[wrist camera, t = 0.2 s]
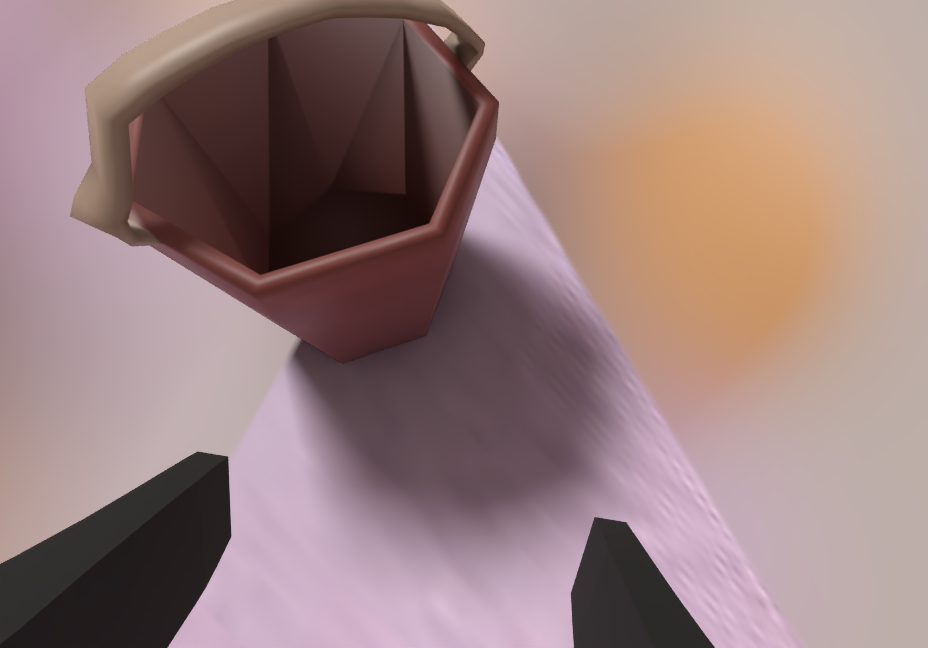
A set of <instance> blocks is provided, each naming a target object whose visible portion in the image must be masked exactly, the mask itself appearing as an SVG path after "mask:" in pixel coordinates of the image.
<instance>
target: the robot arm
mask: <svg viewBox="0 0 928 648" xmlns="http://www.w3.org/2000/svg"><path fill="white" fill-rule="evenodd" d="M230 538H231V517H230V492H229V466H228V457H227V456H221V455H214V454H209V453H203V452H196V453H194V454H193V455H191V456H189V457H187V458H185V459H184V460H182V461H180V462H179V463H177V464H175V465H174V466H172V467H170V468H169V469H167V470H165V471H164V472H162V473H160V474H159V475H157V476H155V477H154V478H152V479H150V480H149V481H147V482H145V483H144V484H142V485H140V486H139V487H137V488H135V489H134V490H132V491H130V492H129V493H127V494H125V495H124V496H122V497H120V498H119V499H117V500H115V501H114V502H112V503H110V504H108V505H107V506H105V507H103V508H102V509H100V510H98V511H97V512H95V513H93V514H91V515H90V516H88V517H86V518H85V519H83V520H81V521H79V522H77V523H76V524H74V525H72V526H70V527H68V528H66V529H65V530H63V531H61V532H59V533H57V534H55V535H54V536H52V537H50V538H48V539H46V540H44V541H42V542H41V543H39V544H37V545H35V546H33V547H32V548H30V549H28V550H26V551H24V552H22V553H21V554H19V555H17V556H15V557H13V558H11V559H9V560H7V561H5V562H3V563H1V564H0V648H167V647H168V646H169V644H170V643H171V641H172V640H173V638H174V637H175V635H176V634H177V632H178V630H179V629H180V627H181V626H182V624H183V623H184V621H185V620H186V618H187V616H188V615H189V613H190V612H191V610H192V609H193V607H194V606H195V604H196V602H197V601H198V599H199V598H200V596H201V595H202V593H203V591H204V590H205V588H206V586H207V584H208V582H209V581H210V579H211V577H212V575H213V573H214V571H215V569H216V567H217V565H218V563H219V561H220V559H221V557H222V555H223V553H224V551H225V548H226V546H227V544H228V542H229V540H230ZM571 603H572V624H573V639H574V648H715V647H714V646H713V645H712V643H711V642H710V641H709V639H708V638H707V637H706V635H705V634H704V633H703V631H702V630H701V629H700V627H699V626H698V624H697V623H696V622H695V620H694V619H693V618H692V616H691V615H690V613H689V612H688V611H687V609H686V608H685V607H684V605H683V604H682V603H681V601H680V600H679V598H678V597H677V595H676V594H675V593H674V591H673V590H672V588H671V587H670V586H669V584H668V583H667V581H666V580H665V578H664V577H663V575H662V574H661V573H660V571H659V570H658V568H657V567H656V565H655V564H654V562H653V561H652V559H651V558H650V556H649V555H648V553H647V552H646V551H645V549H644V548H643V546H642V545H641V543H640V542H639V540H638V539H637V537H636V536H635V534H634V533H633V532H632V530H631V529H630V527H629V526H628V524H627V523H626V522H621V521H615V520H609V519H603V518H597V517H595V518H594V521H593V524H592V528H591V531H590V534H589V537H588V540H587V544H586V547H585V550H584V553H583V556H582V560H581V563H580V566H579V569H578V572H577V576H576V579H575V582H574V585H573V588H572V592H571Z"/></svg>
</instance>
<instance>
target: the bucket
mask: <svg viewBox="0 0 928 648" xmlns="http://www.w3.org/2000/svg"><path fill="white" fill-rule="evenodd" d="M427 24H432V25H437V26H441V27H446V28H447V29H449V30H450V31H452V33H451V34H450V35H449V36H448V38H447V39H446V40H445V41H444V42H443V41H442V40H441V39H440V38H439V36H438V35H437V34H436V33H435V32H434V31H433V30H432V29H431V28H430V27H429V26H428V25H427ZM484 46H485V43H484V41H483V40H482V39H481V38H480V37H479V36H478V35H477V34H476V33H475V32H474V31H473V30H472V29H471V28H470V27H469V26H468V25H467V24H466V23H465V22H464V21H463V20H462V19H461V18H460V17H459V16H458V15H457V14H456V13H455V12H454V11H453V10H452V9H451V8H450V7H448V6H447V5H446V4H445V3H443V2H442V1H441V0H234V1H230V2H228V3H224V4H221V5H218V6H215V7H212V8H210V9H208V10H206V11H204V12H202V13H200V14H198V15H196V16H194V17H192V18H190V19H188V20H186V21H184V22H182V23H180V24H178V25H176V26H174V27H172V28H170V29H168V30H166V31H164V32H162V33H160V34H158V35H156V36H155V37H153V38H151V39H149V40H148V41H146V42H144V43H142V44H141V45H139V46H137V47H135V48H133V49H132V50H130V51H128V52H126V53H125V54H123V55H122V56H121V57H119V58H118V59H117V60H116V61H115V62H114V63H112V64H111V65H110V66H109V67H108V68H107V69H106V70H104V71H103V72H102V73H101V74H100V75H99V76H97V77H96V78H95V79H94V80H93V81H92V82H91V83H89V84H88V85H87V86H86V87H85V97H86V108H87V118H88V129H89V139H90V150H91V160H92V163H91V165H90V167H89V169H88V171H87V173H86V174H85V176H84V178H83V180H82V182H81V184H80V186H79V188H78V190H77V192H76V194H75V196H74V200H73V205H72V209H71V214H70V216H71V217H73V218H75V219H77V220H80V221H82V222H84V223H86V224H88V225H90V226H93V227H95V228H97V229H99V230H101V231H104V232H106V233H108V234H110V235H112V236H115V237H117V238H119V239H120V240H122V241H124V242H126V243H127V244H129V245H130V246H146V245H150V246H151V247H153V248H155V249H156V250H158V251H159V252H161V253H163V254H164V255H166V256H167V257H169V258H171V259H172V260H174V261H176V262H177V263H179V264H180V265H182V266H184V267H185V268H187V269H188V270H190V271H192V272H193V273H195V274H197V275H198V276H200V277H201V278H203V279H205V280H206V281H208V282H209V283H211V284H213V285H214V286H216V287H218V288H219V289H221V290H222V291H224V292H226V293H227V294H229V295H231V296H232V297H234V298H236V299H237V300H239V301H240V302H242V303H243V304H245V305H247V306H248V307H250V308H252V309H253V310H255V311H256V312H258V313H260V314H261V315H263V316H264V317H266V318H268V319H269V320H271V321H272V322H274V323H276V324H277V325H279V326H281V327H282V328H284V329H286V330H287V331H289V332H291V333H293V334H294V335H296V336H297V337H299V338H301V339H302V340H304V341H306V342H307V343H309V344H311V345H312V346H314V347H316V348H317V349H319V350H321V351H322V352H324V353H326V354H327V355H329V356H331V357H332V358H334V359H336V360H337V361H339V362H341V363H345V362H348V361H351V360H354V359H357V358H360V357H363V356H366V355H369V354H372V353H375V352H378V351H381V350H384V349H387V348H390V347H393V346H396V345H398V344H401V343H404V342H407V341H410V340H413V339H416V338H419V337H422V336H425V335H426V333H427V330H428V328H429V325H430V323H431V320H432V317H433V315H434V312H435V310H436V307H437V305H438V302H439V299H440V297H441V294H442V292H443V289H444V286H445V284H446V281H447V279H448V276H449V274H450V271H451V268H452V266H453V263H454V260H455V257H456V254H457V251H458V248H459V245H460V242H461V239H462V236H463V234H464V231H465V228H466V225H467V222H468V219H469V216H470V213H471V210H472V207H473V204H474V201H475V198H476V195H477V192H478V189H479V186H480V184H481V181H482V178H483V175H484V172H485V169H486V166H487V163H488V160H489V157H490V154H491V151H492V148H493V145H494V142H495V139H496V130H497V119H498V108H499V102H498V101H497V99H495V97H494V96H493V95H492V94H491V93H490V92H489V91H488V90H487V89H486V87H485V86H484V85H483V84H482V83H481V82H480V81H479V80H478V79H477V78H476V77H475V76H474V74H473V73H472V72H471V70H472V68H473V67H474V66H475V64H476V63H477V61H478V60H479V59H480V58H481V56H482V55H483V51H484Z"/></svg>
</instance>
